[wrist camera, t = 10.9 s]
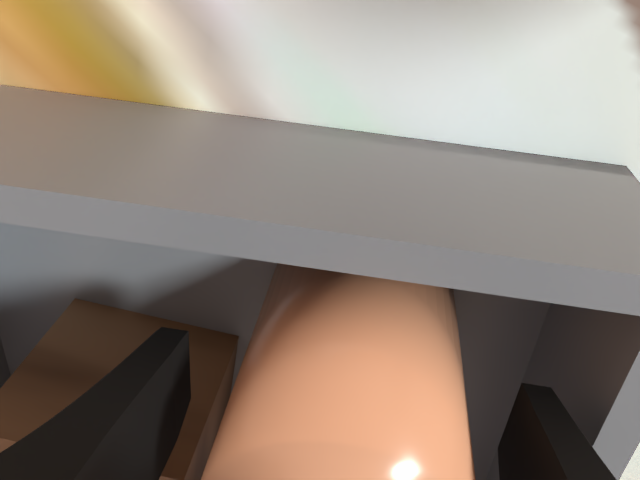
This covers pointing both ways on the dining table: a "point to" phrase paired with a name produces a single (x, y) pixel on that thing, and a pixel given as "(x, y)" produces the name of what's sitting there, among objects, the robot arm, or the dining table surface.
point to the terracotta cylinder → (347, 384)
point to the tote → (328, 242)
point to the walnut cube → (102, 357)
